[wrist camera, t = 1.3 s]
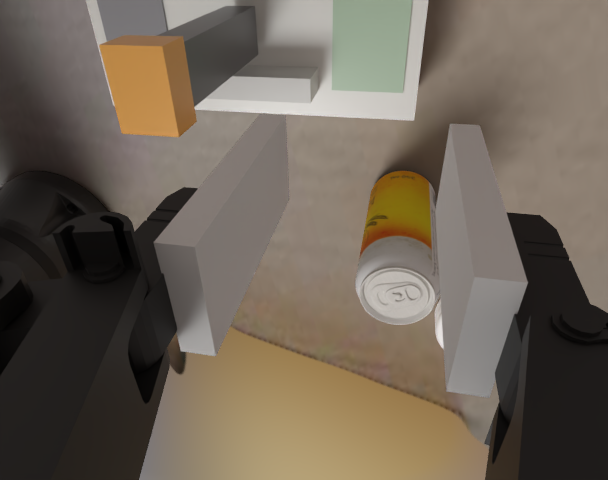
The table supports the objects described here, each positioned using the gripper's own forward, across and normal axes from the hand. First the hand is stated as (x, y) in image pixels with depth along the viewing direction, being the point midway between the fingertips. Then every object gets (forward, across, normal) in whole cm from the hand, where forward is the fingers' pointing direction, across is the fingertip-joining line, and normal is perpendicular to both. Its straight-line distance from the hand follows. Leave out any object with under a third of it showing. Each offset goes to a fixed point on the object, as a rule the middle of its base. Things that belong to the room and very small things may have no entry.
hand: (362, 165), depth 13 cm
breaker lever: (+20, -10, 0) cm, 23 cm away
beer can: (+28, +2, -16) cm, 32 cm away
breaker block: (+28, -10, 0) cm, 29 cm away
